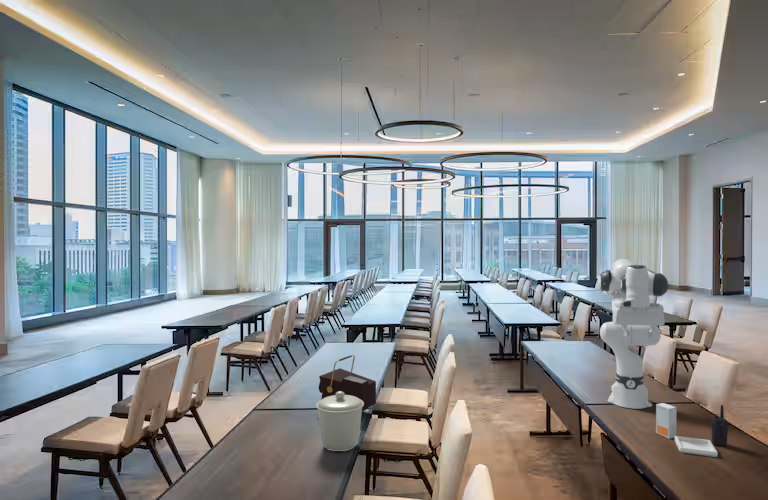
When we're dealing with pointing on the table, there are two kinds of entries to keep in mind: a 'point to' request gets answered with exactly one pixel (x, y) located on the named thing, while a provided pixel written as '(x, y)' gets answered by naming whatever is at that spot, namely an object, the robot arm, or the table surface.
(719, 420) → the two-way radio
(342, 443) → the canister
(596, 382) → the table surface
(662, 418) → the skincare box
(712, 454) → the tray
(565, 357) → the table surface
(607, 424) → the table surface
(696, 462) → the table surface
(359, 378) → the brown box with handle
